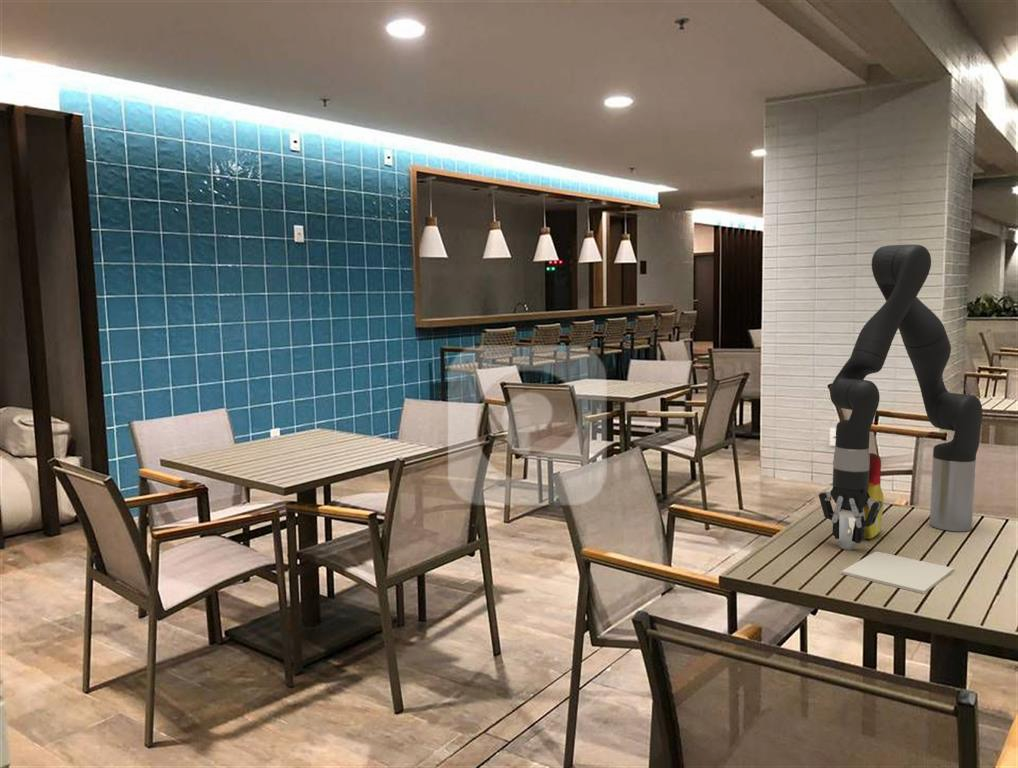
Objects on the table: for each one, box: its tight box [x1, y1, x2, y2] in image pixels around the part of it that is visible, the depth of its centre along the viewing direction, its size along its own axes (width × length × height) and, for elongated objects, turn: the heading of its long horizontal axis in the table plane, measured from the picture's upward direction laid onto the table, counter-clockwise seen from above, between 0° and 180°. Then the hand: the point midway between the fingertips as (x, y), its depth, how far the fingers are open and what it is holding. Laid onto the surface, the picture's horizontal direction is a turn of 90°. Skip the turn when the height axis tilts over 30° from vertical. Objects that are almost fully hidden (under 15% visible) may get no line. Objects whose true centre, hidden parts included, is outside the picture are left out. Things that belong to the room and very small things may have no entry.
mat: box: [841, 550, 955, 595], centre depth 166 cm, size 18×16×1 cm
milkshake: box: [838, 507, 864, 551], centre depth 182 cm, size 4×5×10 cm
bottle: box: [864, 452, 885, 540], centre depth 191 cm, size 12×6×20 cm, turn 150°
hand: (847, 540), depth 182 cm, fingers closed on milkshake, 4 cm apart
